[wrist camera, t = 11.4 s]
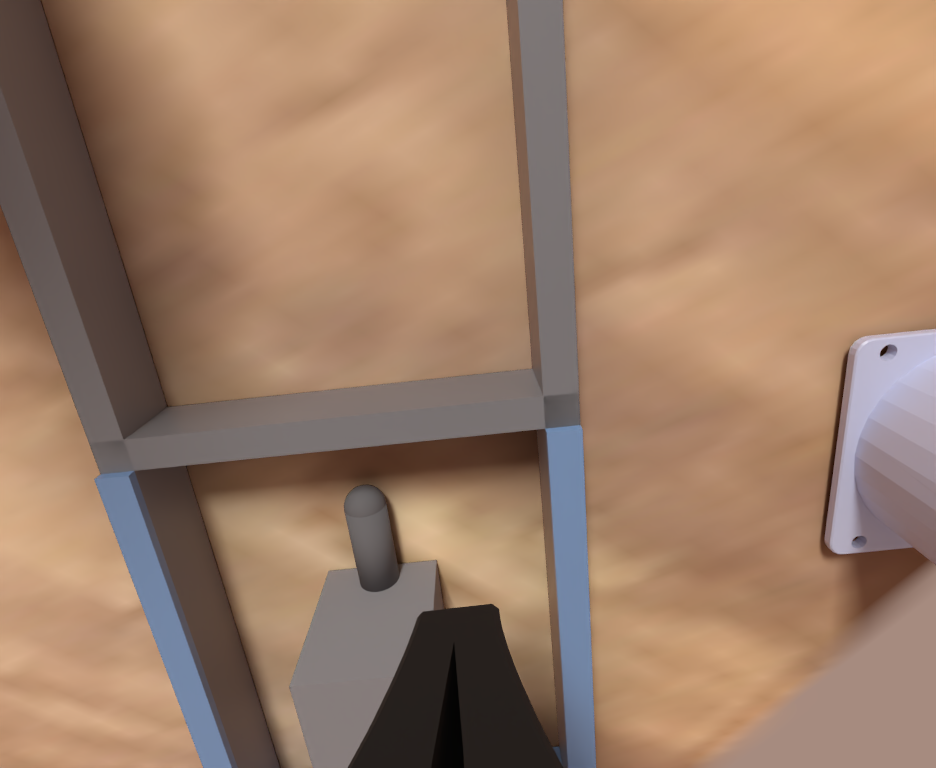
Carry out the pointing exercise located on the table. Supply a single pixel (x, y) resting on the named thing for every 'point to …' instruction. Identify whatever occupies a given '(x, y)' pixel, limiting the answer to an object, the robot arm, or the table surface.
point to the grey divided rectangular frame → (293, 415)
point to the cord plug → (358, 634)
